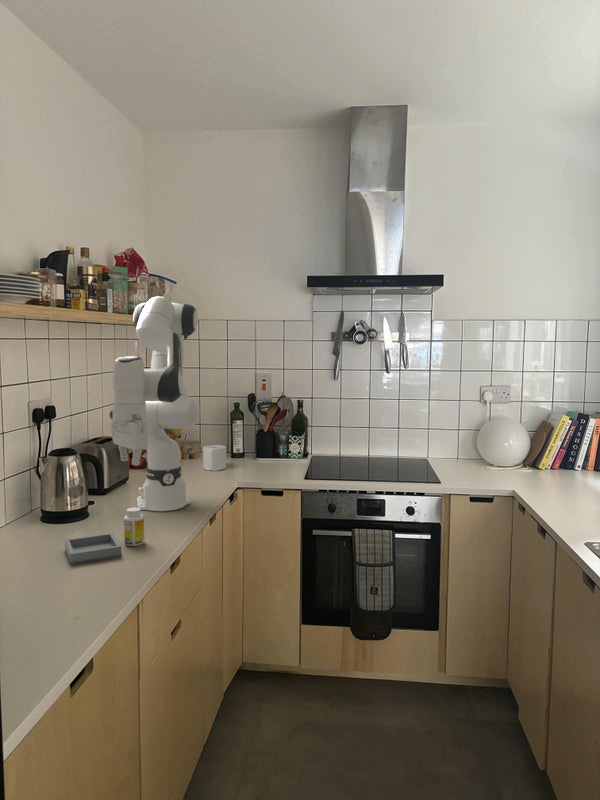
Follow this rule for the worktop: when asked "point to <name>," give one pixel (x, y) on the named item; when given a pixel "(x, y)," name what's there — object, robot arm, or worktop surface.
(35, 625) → the worktop surface
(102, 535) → the tray
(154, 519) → the worktop surface
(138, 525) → the supplement bottle
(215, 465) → the toilet tissue
